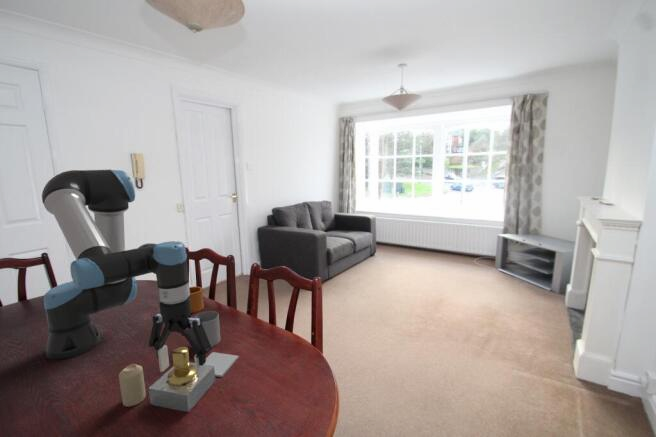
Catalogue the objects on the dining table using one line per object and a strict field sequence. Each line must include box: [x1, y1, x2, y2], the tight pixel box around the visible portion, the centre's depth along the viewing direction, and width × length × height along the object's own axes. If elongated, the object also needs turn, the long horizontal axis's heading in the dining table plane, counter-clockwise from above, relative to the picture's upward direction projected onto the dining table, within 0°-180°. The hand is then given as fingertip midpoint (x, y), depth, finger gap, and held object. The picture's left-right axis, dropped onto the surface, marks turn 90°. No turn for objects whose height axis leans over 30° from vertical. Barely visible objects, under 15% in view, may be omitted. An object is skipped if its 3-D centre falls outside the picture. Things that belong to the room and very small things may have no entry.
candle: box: [118, 362, 147, 408], centre depth 83 cm, size 6×6×10 cm
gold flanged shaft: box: [168, 346, 196, 386], centre depth 85 cm, size 8×8×13 cm
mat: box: [204, 351, 239, 378], centre depth 98 cm, size 10×10×1 cm
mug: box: [189, 286, 205, 314], centre depth 139 cm, size 9×12×9 cm
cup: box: [193, 310, 221, 348], centre depth 111 cm, size 8×8×10 cm
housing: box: [148, 361, 216, 413], centre depth 86 cm, size 12×12×5 cm
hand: (182, 371), depth 85 cm, fingers open, 11 cm apart
